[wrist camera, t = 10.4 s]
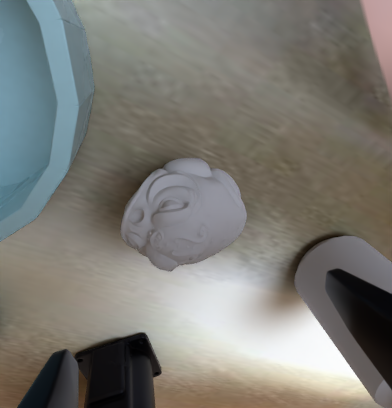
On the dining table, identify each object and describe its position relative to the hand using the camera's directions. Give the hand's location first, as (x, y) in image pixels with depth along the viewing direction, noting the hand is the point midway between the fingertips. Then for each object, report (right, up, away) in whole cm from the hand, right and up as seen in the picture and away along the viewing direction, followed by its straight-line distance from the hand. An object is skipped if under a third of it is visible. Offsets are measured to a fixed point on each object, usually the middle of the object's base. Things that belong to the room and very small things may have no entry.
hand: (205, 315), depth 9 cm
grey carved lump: (-2, +5, +9) cm, 11 cm away
